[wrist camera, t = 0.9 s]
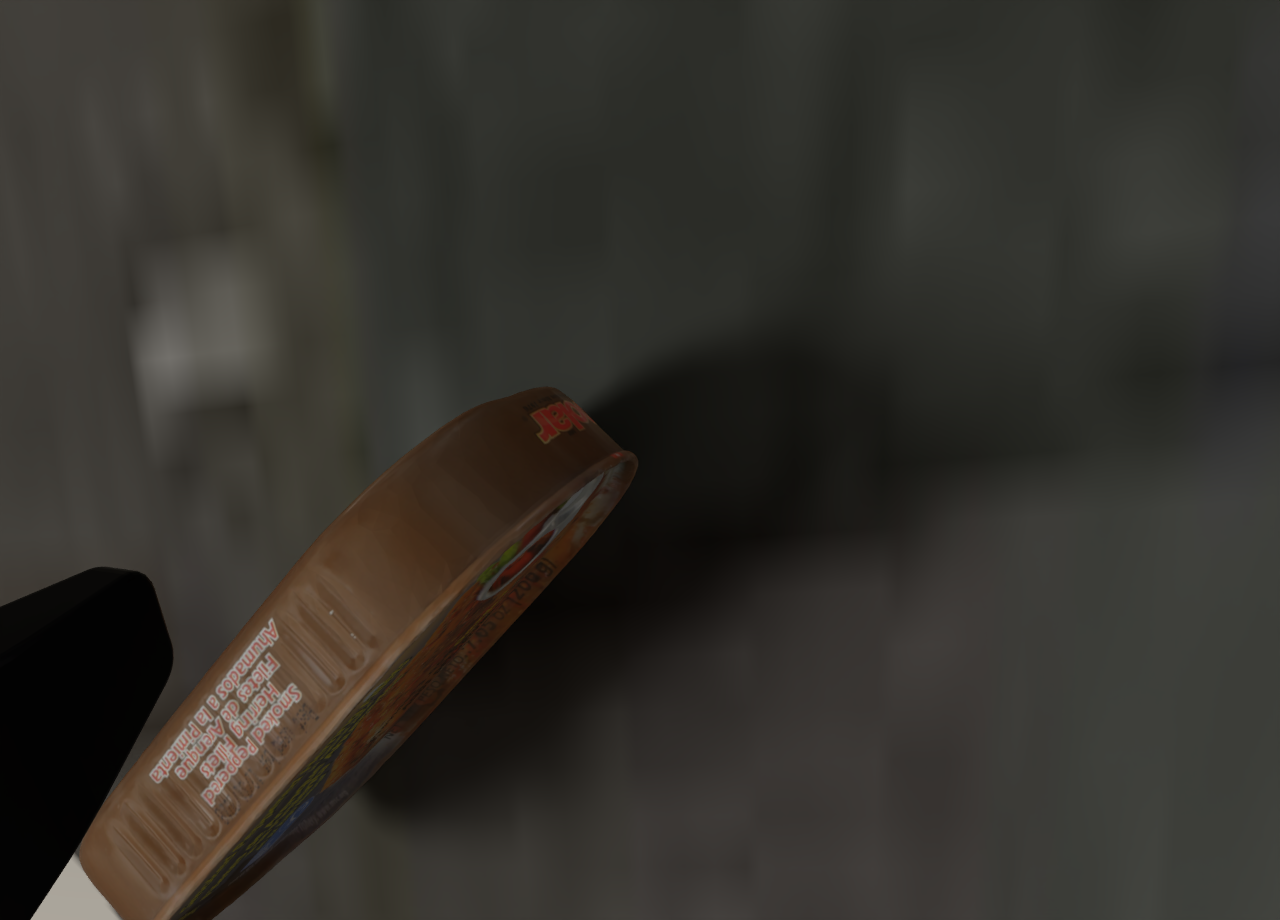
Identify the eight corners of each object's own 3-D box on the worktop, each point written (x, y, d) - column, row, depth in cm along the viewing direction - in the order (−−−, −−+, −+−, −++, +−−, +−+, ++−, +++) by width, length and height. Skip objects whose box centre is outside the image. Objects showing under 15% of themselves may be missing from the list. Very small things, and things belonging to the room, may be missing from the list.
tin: (314, 840, 31) (92, 1050, 23) (230, 756, 32) (-19, 936, 24) (686, 434, 27) (569, 524, 19) (585, 339, 27) (426, 388, 19)
